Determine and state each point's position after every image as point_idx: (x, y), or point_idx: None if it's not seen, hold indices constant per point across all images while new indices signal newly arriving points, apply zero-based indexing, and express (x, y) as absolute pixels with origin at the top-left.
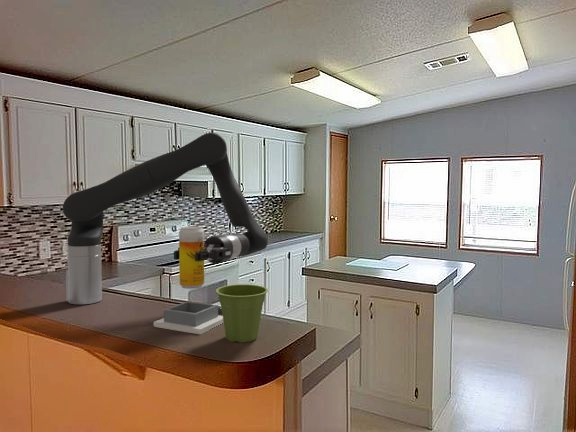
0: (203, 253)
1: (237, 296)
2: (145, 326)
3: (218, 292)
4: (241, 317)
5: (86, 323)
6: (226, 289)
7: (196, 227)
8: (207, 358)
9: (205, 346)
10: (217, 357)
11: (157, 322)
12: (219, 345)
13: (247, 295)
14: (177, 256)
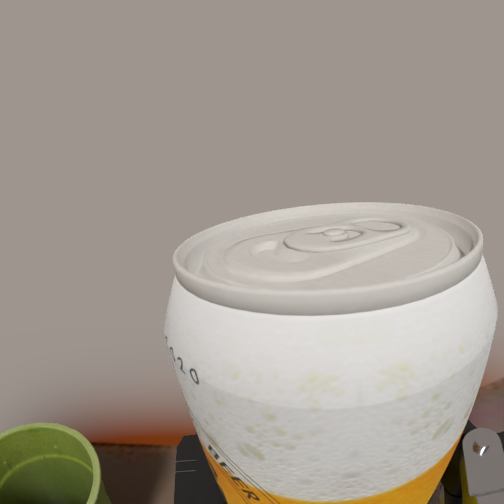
0: (185, 466)
1: (27, 424)
2: None
3: (80, 437)
4: (51, 478)
5: (495, 396)
6: None
7: (418, 283)
8: (119, 444)
9: (151, 484)
10: (104, 453)
11: None
12: (126, 498)
13: None
14: None
